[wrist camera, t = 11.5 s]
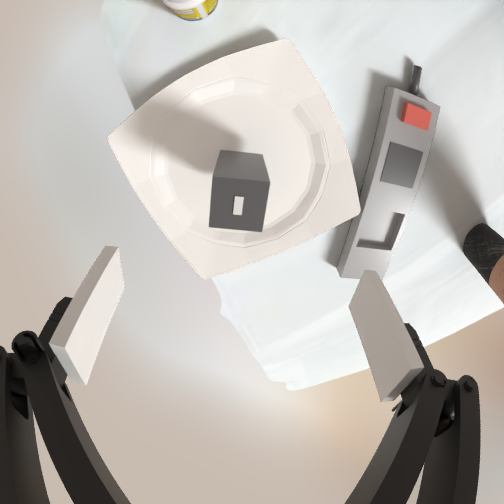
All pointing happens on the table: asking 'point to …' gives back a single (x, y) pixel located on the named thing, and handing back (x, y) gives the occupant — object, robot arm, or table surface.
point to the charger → (239, 191)
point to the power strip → (390, 180)
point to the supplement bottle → (192, 8)
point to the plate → (242, 140)
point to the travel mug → (487, 256)
